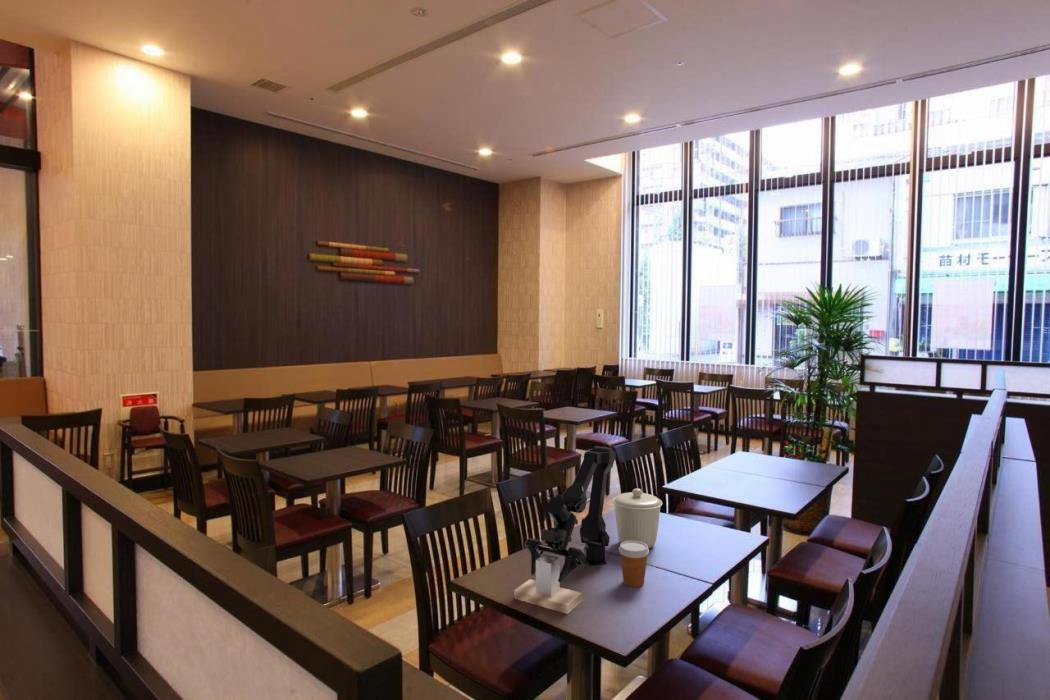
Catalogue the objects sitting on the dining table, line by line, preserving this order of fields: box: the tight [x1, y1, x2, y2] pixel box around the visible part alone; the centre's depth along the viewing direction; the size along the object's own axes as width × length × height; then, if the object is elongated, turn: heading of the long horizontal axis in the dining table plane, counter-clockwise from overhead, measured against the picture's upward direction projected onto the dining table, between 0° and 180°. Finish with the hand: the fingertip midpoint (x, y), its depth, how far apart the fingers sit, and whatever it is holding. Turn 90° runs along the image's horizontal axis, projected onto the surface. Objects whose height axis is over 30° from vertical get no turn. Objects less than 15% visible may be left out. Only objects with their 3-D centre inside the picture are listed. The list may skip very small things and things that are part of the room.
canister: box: [612, 488, 663, 549], centre depth 220 cm, size 18×18×21 cm
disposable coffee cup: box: [618, 541, 650, 588], centre depth 188 cm, size 10×10×12 cm
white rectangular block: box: [535, 553, 561, 597], centre depth 177 cm, size 5×5×10 cm
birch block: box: [513, 578, 583, 615], centre depth 177 cm, size 18×9×6 cm, turn 58°
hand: (545, 578), depth 176 cm, fingers open, 9 cm apart
